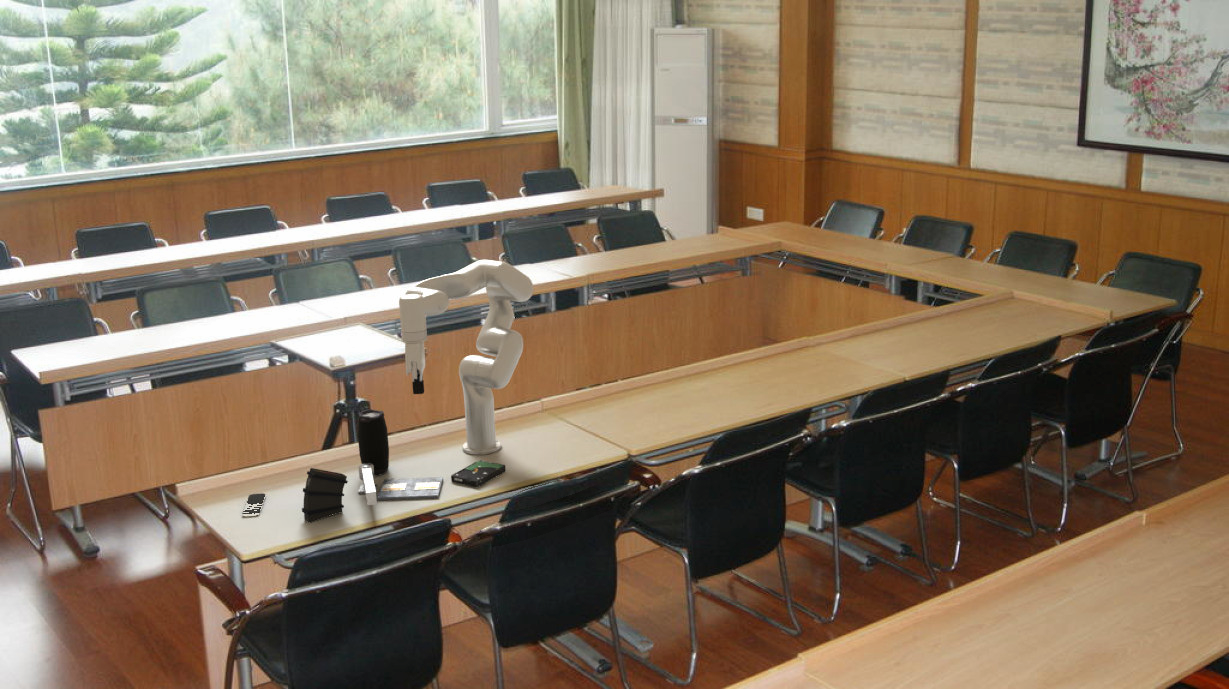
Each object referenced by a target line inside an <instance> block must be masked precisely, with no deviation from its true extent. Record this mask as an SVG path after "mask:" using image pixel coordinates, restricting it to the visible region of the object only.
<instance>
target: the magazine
mask: <svg viewBox="0 0 1229 689" xmlns="http://www.w3.org/2000/svg"><path fill="white" fill-rule="evenodd" d="M306 475H307V478H306V481H305V487H303V488H302V493H304V494H303V495H304V496H303V507H302V508H301V512H302V513H303V518H304V520H305V521H306V522H307V521H308V523H309V522H310V523H313V522H316V521H319V520H322V519H325V518H324V517H326V518H328V517H327V516H329V515H332V514H335V513H338V514H340V513H339V512H342V513H343V509H344V508H345V505H344V504H343V503H342V502H343V497H344V496H345V493H343V491H344V487H345V484H348V482H349V481H348V480H347V477H348V476H347V475H345V473H340V472H333V471H330V470H325V469H319V468H315V467H310V469H309V470H307V472H306ZM335 515H336V514H335ZM332 516H333V515H332ZM329 517H330V516H329ZM321 518H322V519H321ZM318 519H319V520H318ZM315 520H316V521H315ZM312 521H313V522H312Z"/></svg>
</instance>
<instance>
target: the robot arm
mask: <svg viewBox="0 0 1229 689" xmlns="http://www.w3.org/2000/svg"><path fill="white" fill-rule="evenodd" d="M484 288H485V290H486V295H487V298H488V303H489V310H488V313H487V316H486V318H485V321H484V323H483V325H482V327H481V329H480V331H479V334H478V335H477V339H476V342H475V347H476V349H477V351H478V352H479V353H481V354H483V355H479V354H471V355H467V356H465V357H463V359H462V360H461V361H460V363H459V366H458V367H459V368H458V375H459V379H460V382H461V387H462V391H463V401H464V416H465V418H464V419H465V431H466V432H465V433H466V434H465V436H466V442H464V443H463V444H462V447H461V448H462V451H463V452H464V453H466V454H470V455H474V456H475V455H478V456H479V455H486V454H487V455H489V454H492V453H496V452H497V451H499V450H500V449H501V448H502V444H501V443H502V442H500V441H499V440H497V438H496V437H497V434H496V419H495V418H496V417H495V403H494V402H495V400H494V399H495V398H494V395H493V393H494V392H493V390H494V389H495V390H500V389H503V388H505V387H506V386H507V385H508V384H509V382H510V381H511V378H512V376H513V375H514V371H515V370H516V367H517V365H518V363H519V361H520V358H521V356H522V353H523V350H524V338H523V336H522V334H521V333H520V332H519V331H517V330H514V329H511V328H512V324H513V323H514V319H515V313H514V310H513V307H512V303H511V301H513V302H519V303H523V302H527V301H528V300H529V299H531V297H532V296H533V293H534V284H533V282H532V280H531V278H530V277H529V276H528V275H527V274H524V273H523V272H521V270H519V269H517V268H516V267H515V266H513V265H512V264H510V263H507V262H505V261H502V260H492V259H478V260H476V261H475V262H471V263H470V264H468V265H467V266H465V267H463V268H461V269H459V270H457V271H455V272H452V273H448V274H442V275H440V276H435V277H431V278H428V279H425V280H421V281H419V282H418V283H415V284H414V285H412V286H411V287H409V288H408V290H407V291H406V292H405V294H403V295H401V297H399V299H398V300H399V301H398V308H399V318H400V319H399V320H400V329H401V330H400V331H401V332H400V333H401V341H402V343H404V344H405V345H404V356H405V357H404V359H405V374H406V375H407V376H409V375H410V374H411V380H412V382H411V383H412V384H411V385H412V394H413V395H423V394H424V393H425V385H424V375H423V374H424V373H423V372H424V370H425V367H426V353H425V342H426V341H427V340H428V333H427V330H428V328H427V319H426V318H427V317H431V316H438V315H441V314H444V313H445V312H446V311H447V309H448V308H449V305H450V300H459V299H460V300H461V299H464V298H467V297H470V296H471V295H473V294H474V293H477V292H478V291H480V290H482V289H484ZM485 355H487V356H485ZM489 356H490V357H489ZM493 357H494V358H493ZM492 389H493V390H492Z"/></svg>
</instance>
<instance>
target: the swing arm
mask: <svg viewBox="0 0 1229 689" xmlns="http://www.w3.org/2000/svg"><path fill="white" fill-rule="evenodd" d="M358 475H359V480H361V481H363V482H362V483H364V484H363V485H364V488H365V494H364V495H365V498H366V504H367V506H371V505H377V490H376V491H375V486H374V485H375V482H374V478H375V476H374V466H373V464H371V463H364V464H359V465H358Z"/></svg>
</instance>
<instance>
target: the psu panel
mask: <svg viewBox="0 0 1229 689" xmlns="http://www.w3.org/2000/svg"><path fill="white" fill-rule="evenodd" d="M443 482H444V477H443V476H437V477H436V476H433V477H410V478H406V477H405V478H404V477H403V478H385V479H383V481H382V484H381V486H380V490H379V491H378V494H377V495H376V501H402V500H406V501H407V500H427V499H428V500H429V499H431V500H432V499H439V498H440V494H441V489H442V486H443ZM439 493H440V494H439Z"/></svg>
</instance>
